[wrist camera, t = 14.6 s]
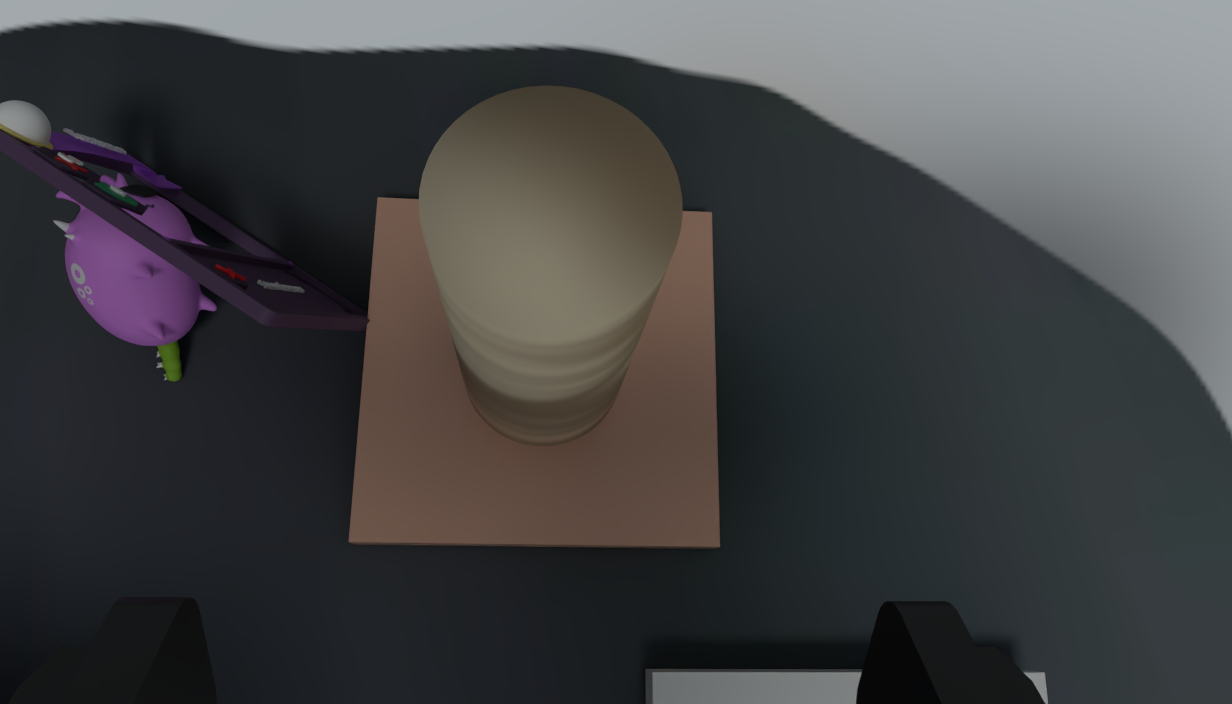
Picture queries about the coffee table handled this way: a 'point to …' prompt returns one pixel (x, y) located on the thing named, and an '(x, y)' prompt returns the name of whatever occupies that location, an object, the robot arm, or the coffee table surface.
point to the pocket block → (765, 686)
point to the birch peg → (548, 253)
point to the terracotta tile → (525, 474)
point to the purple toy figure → (159, 248)
